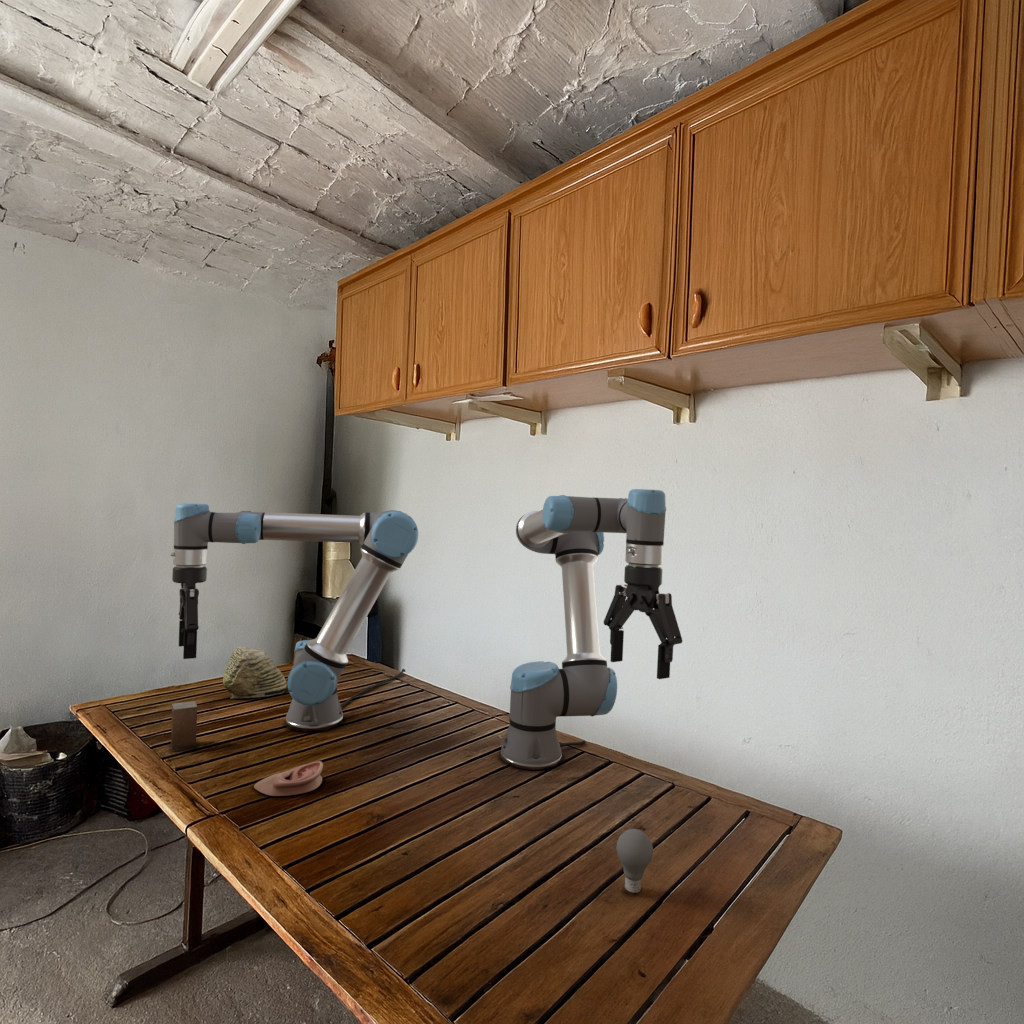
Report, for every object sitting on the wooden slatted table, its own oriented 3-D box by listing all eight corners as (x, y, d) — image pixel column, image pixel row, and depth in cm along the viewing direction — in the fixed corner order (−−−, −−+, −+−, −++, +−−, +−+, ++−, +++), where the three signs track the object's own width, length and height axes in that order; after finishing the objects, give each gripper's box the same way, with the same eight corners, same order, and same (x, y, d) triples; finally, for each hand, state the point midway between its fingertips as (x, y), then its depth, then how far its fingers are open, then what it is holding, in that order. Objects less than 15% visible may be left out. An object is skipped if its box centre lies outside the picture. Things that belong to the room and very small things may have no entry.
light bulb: (610, 879, 108) (613, 822, 108) (644, 879, 109) (647, 822, 109) (619, 902, 102) (622, 840, 102) (655, 901, 103) (658, 840, 103)
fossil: (218, 695, 195) (220, 647, 195) (278, 685, 208) (279, 640, 207) (228, 703, 189) (230, 653, 188) (289, 692, 201) (290, 645, 201)
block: (170, 745, 157) (172, 703, 157) (193, 741, 160) (195, 700, 160) (172, 751, 153) (173, 709, 153) (195, 748, 156) (197, 706, 156)
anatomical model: (246, 773, 134) (276, 753, 145) (245, 792, 134) (276, 770, 145) (303, 782, 131) (330, 760, 142) (302, 801, 131) (329, 777, 142)
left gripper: (169, 560, 164) (166, 642, 165) (176, 572, 143) (173, 665, 144) (201, 560, 168) (198, 639, 169) (213, 571, 147) (210, 662, 147)
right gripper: (590, 559, 137) (585, 656, 137) (676, 573, 116) (670, 688, 116) (616, 558, 141) (612, 653, 141) (704, 572, 120) (699, 683, 120)
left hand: (187, 652), depth 156 cm, fingers open, 13 cm apart
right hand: (638, 669), depth 129 cm, fingers open, 13 cm apart
